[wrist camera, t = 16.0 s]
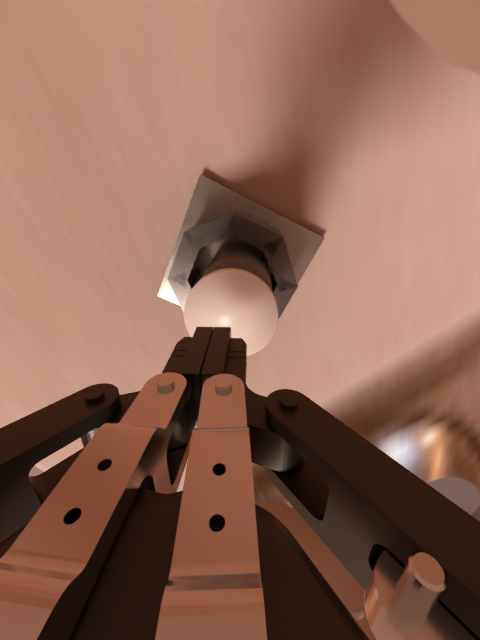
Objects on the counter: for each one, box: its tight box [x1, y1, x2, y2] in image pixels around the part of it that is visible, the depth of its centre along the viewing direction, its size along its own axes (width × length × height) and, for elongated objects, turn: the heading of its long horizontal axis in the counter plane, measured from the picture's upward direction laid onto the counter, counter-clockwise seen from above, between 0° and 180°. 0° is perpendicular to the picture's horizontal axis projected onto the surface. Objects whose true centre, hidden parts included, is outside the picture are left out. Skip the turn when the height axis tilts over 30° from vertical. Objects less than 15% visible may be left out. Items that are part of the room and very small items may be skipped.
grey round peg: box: [184, 241, 278, 356], centre depth 20 cm, size 5×5×10 cm
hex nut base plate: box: [157, 174, 324, 319], centre depth 23 cm, size 11×11×4 cm
